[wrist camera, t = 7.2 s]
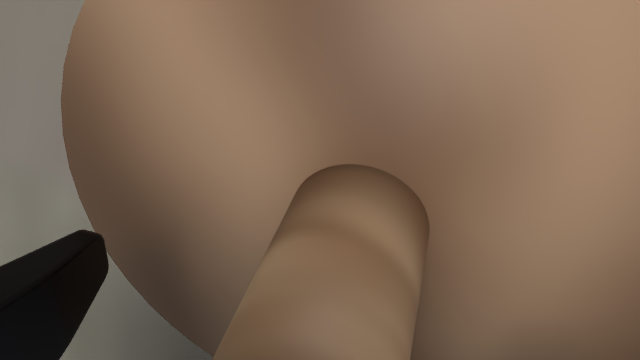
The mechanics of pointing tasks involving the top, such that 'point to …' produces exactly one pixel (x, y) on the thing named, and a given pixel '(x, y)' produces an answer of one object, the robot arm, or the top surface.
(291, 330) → the lid
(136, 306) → the top surface
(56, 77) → the top surface
